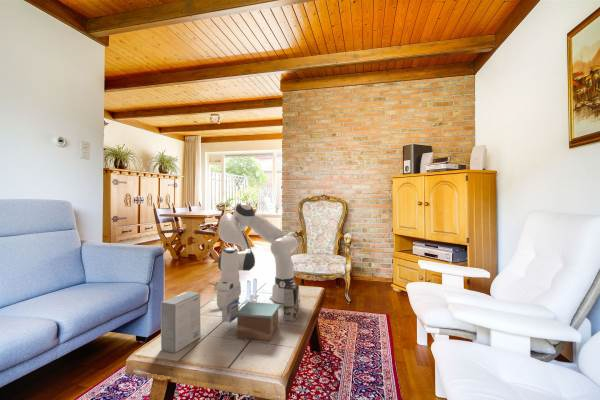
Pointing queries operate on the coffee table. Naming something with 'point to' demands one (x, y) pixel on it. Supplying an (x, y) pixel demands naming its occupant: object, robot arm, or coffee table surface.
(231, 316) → the medicine box
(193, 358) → the coffee table surface
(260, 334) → the walnut box
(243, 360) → the coffee table surface
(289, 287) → the coffee box
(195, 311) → the hard drive box
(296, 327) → the coffee table surface
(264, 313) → the lid
